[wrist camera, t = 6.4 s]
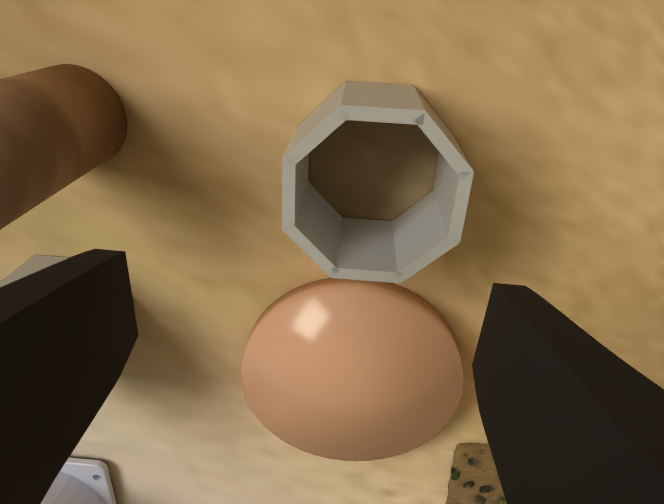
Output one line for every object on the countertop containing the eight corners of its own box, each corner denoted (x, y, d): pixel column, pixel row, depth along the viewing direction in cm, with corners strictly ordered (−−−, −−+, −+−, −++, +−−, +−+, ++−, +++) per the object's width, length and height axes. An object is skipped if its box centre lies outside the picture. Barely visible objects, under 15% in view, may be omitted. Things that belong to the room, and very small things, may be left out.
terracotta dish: (440, 449, 25) (443, 469, 24) (249, 432, 26) (243, 451, 25) (478, 286, 21) (485, 302, 20) (243, 267, 21) (236, 282, 20)
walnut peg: (133, 165, 19) (33, 240, 13) (42, 158, 19) (-96, 231, 13) (119, 67, 17) (-3, 106, 12) (19, 60, 17) (-150, 95, 12)
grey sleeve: (436, 233, 20) (451, 287, 16) (296, 223, 20) (281, 274, 16) (460, 88, 17) (485, 114, 13) (299, 77, 17) (282, 101, 14)
